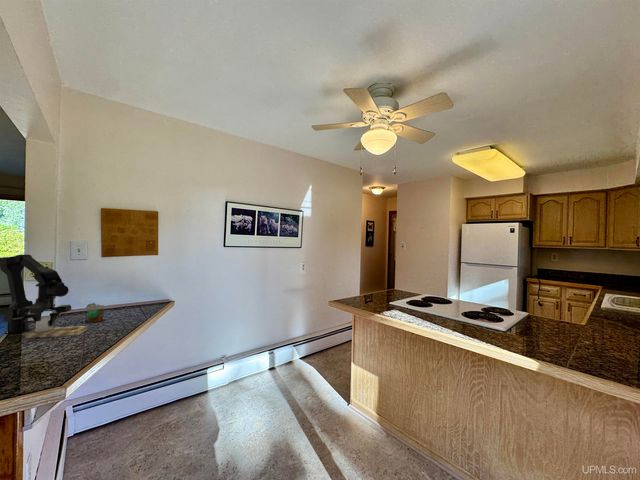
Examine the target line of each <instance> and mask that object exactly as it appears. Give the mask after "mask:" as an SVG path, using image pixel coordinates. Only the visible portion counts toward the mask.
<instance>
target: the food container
mask: <svg viewBox="0 0 640 480" xmlns="http://www.w3.org/2000/svg"><path fill="white" fill-rule="evenodd" d="M85 309H86V310H87V311H86V313H87V323H89V324H95V323H103V321H104V311H105V305H104V304H101V305H100V304H96V303H95V302H92V303H89V304H88V303H87V304H86V307H85Z"/></svg>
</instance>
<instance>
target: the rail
mask: <svg viewBox="0 0 640 480" xmlns="http://www.w3.org/2000/svg"><path fill="white" fill-rule="evenodd" d="M88 330H89V328H88V325H81V326H79V325H78V326H64V327H63V326H62V327H60V326H59V327H53V330H51V331H49V332H41V333H35V332H36V329H33V330H32V331H30V332H27V333H26V334H24V339H25V338H26V339H36V338H35V337H40V338H51V337H52V338H53V337H65V336H79V335H81V334H83V333H84V332H86V331H88Z"/></svg>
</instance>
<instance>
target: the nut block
mask: <svg viewBox="0 0 640 480" xmlns="http://www.w3.org/2000/svg"><path fill="white" fill-rule="evenodd" d="M53 328H54V324H53V325H52V326H50V318H41V320H39V321H36V324H35V330H36V332H35V333H41V332H49V331H51V330H53Z"/></svg>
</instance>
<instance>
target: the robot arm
mask: <svg viewBox="0 0 640 480" xmlns="http://www.w3.org/2000/svg"><path fill="white" fill-rule="evenodd" d="M25 268H26V269H27V270H28V271H30V272H31V273H32V274H33V279H35V281H36V282H37V283H36V284H35V287H37V288H38V289H37V290H38V291H37V298H36V299H35V302H34V303H33V301H32V300H29V299H27V296H26V291H25V286H24V281H23V276H22V271H23V270H24V269H25ZM0 271H1V272H3V273H4V274H5V275H6V277H7V282H8V288H9V293H10V296H11V302H10V305H9V306H8V307H7V308H8V310H7V312H6V314H5V315H4V316H3V317H2V319H3V322H5V323H6V322H7V331H6V332H4V334H5V335H7V334H21V333H23V332H27V331H29V330H30V328H29V326H30V325H29V324H30V321H29V319H32V320H33V321H34V324H35V325H36V321H39V320H41V319H42V314H43V313H44V312H51V313H49V317H50V318H49V319H50V326H52V325H53V326H54V323H55V321H56V319H57V318H58V317H59V315H60V314H61V313H67V312H69V311H72V306H71V304H61V305H58V306H56V304H55V299H56V297H59V298H60V297H61V298H62V297H65V296H67V295H68V293H69V287H68V286H67V285H65V282H63V280H62V278H61V277H60V275H59V273H58V271H56V270H55V269H53V268H48V267H46V266H44V265H43V264H42V263H40V262H39V261H38V260H36V259H35V258H34V257H32V255H31V254H28V253H27V254H16V255H14V256H13V255H12V256H5V257H2V258H1V259H0ZM7 332H8V333H7ZM6 333H7V334H6Z"/></svg>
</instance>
